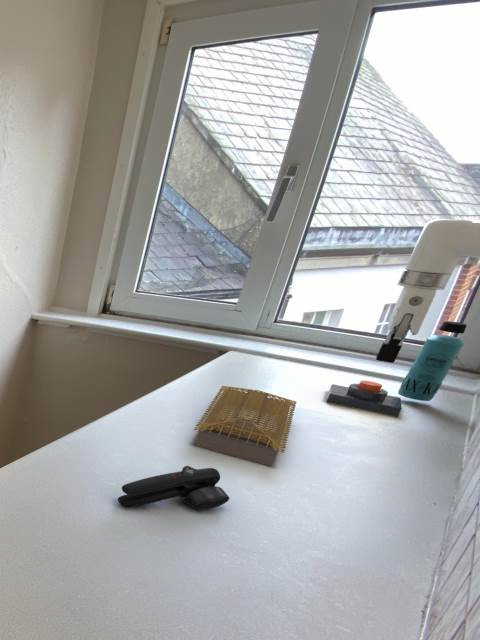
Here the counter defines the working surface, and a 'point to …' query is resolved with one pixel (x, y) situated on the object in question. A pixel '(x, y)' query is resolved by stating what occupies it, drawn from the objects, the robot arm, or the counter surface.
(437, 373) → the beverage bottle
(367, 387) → the button
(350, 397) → the switch box
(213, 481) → the can opener
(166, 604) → the counter surface
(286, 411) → the rafter model
